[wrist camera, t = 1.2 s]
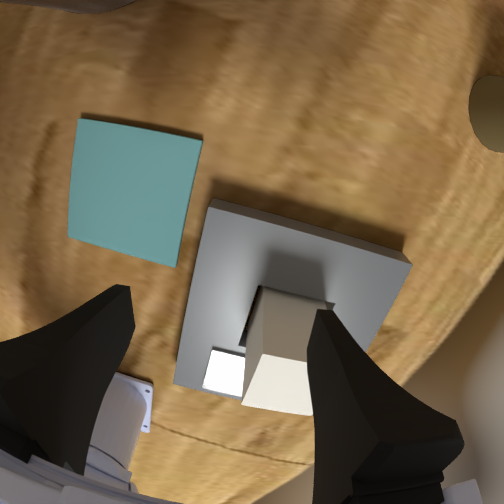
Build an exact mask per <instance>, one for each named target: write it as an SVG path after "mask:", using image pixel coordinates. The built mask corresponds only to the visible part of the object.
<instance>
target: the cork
mask: <svg viewBox="0 0 504 504" xmlns="http://www.w3.org/2000/svg"><path fill="white" fill-rule="evenodd" d="M469 115H470V122H471V124H472V127H473V130H474V133H475V134H476V136H477V137H478V139H479V140H480V142H481V143H482V144H483V145H484V146H485V147H487V148H488V149H489V150H492V151H495V152H502V153H504V77H500V76H493V75H486V76H484V77H482V78H480V79H479V80H478V81H477V82H476V83H475V85H474V86H473V88H472V91H471V94H470V97H469Z"/></svg>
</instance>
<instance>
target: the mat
mask: <svg viewBox="0 0 504 504" xmlns="http://www.w3.org/2000/svg"><path fill="white" fill-rule="evenodd" d="M202 144H203V140H199V139H194V138H190V137H185V136H181V135H176V134H171V133H167V132H162V131H157V130H151V129H146V128H141V127H135V126H130V125H124V124H118V123H112V122H106V121H99V120H93V119H86V118H78V124H77V131H76V138H75V145H74V153H73V161H72V171H71V182H70V194H69V212H68V237H70V238H73V239H77V240H80V241H83V242H87V243H90V244H93V245H97V246H100V247H104V248H107V249H110V250H114V251H117V252H121V253H124V254H128V255H131V256H135V257H138V258H142V259H145V260H149V261H152V262H156V263H160V264H163V265H167V266H170V267H174V268H176V266H177V262H178V256H179V251H180V246H181V241H182V235H183V230H184V225H185V220H186V215H187V211H188V206H189V201H190V197H191V192H192V187H193V183H194V178H195V174H196V170H197V165H198V161H199V157H200V153H201V149H202Z"/></svg>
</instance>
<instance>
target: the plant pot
mask: <svg viewBox="0 0 504 504" xmlns="http://www.w3.org/2000/svg"><path fill="white" fill-rule="evenodd" d="M134 1H136V0H0V2H2V3H14V4H24V5H32V6H39V7H46V8H53V9H59V10H64V11H68V12H72V13H103V12H108V11H111V10H115V9H117V8H120V7H123V6H125V5H127V4H130V3H132V2H134Z"/></svg>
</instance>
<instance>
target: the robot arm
mask: <svg viewBox="0 0 504 504" xmlns="http://www.w3.org/2000/svg"><path fill="white" fill-rule="evenodd" d="M134 330H135V321H134V314H133V307H132V300H131V292H130V286H125V285H118V284H116V285H114V286H112V287H110V288H108V289H107V290H105V291H104V292H102V293H100V294H99V295H97V296H96V297H94V298H93V299H91V300H90V301H88V302H86V303H85V304H83V305H82V306H80V307H79V308H77V309H75V310H73V311H72V312H70V313H68V314H67V315H65V316H63V317H61V318H60V319H58V320H56V321H54V322H52V323H50V324H48V325H46V326H44V327H42V328H39V329H37V330H35V331H32V332H30V333H27V334H24V335H22V336H19V337H16V338H13V339H10V340H6V341H3V342H0V504H182V503H177V502H172V501H167V500H163V499H158V498H154V497H150V496H146V495H142V494H139V492H138V490H137V487H136V485H135V483H133V482H131V481H130V478H131V475H132V472H130V471H128V469H129V466H130V463H131V460H132V457H133V454H134V450H135V447H136V444H137V441H138V438H139V435H140V432H141V431H143V432H146V433H148V432H149V431H150V424H151V411H152V398H153V385H152V384H151V383H149V382H146V381H142V380H139V379H136V378H133V377H130V376H127V375H124V374H121V373H118V372H116V371H117V369H118V367H119V365H120V363H121V361H122V359H123V357H124V355H125V353H126V351H127V349H128V347H129V344H130V341H131V338H132V335H133V333H134ZM307 374H308V381H309V389H310V395H311V402H312V409H313V416H314V427H315V467H314V468H315V469H314V488H313V502H312V504H483V503H482V499H481V496H480V492H479V489H478V485H477V482H476V480H475V479H471V480H468V481H465V482H462V483H458V484H454V485H451V486H449V487H447V488H444V489H443V490H442V488H441V484H440V482H442V481H443V480H444V476H443V472H442V471H443V470H444V469H445V468H446V467H447V466H448V465H449V464H450V463H451V462H452V461H453V460H454V459H455V458H457V456H458V455H459V454H460V453H461V451H462V449H463V447H464V440H463V437H462V435H461V432H460V429H459V427H458V424H457V423H456V420H453V419H452V418H450V417H448V416H446V415H444V414H442V413H440V412H438V411H436V410H434V409H432V408H431V407H429V406H427V405H426V404H424V403H423V402H421V401H419V400H418V399H417V398H415V397H414V396H412V395H411V394H410V393H408V392H407V391H406V390H404V389H403V388H402V387H400V386H399V385H398V384H397V383H396V382H394V381H393V380H392V379H391V378H390V377H389V376H388V375H387V374H386V373H384V372H383V371H382V370H381V369H380V368H379V367H378V366H377V365H376V364H375V363H374V362H373V360H372V359H371V358H370V357H369V356H368V355H367V354H366V353H365V352H364V350H363V349H362V348H361V347H360V346H359V344H358V343H357V342H356V341H355V339H354V338H353V337H352V335H351V334H350V333H349V331H348V330H347V329H346V327H345V326H344V325H343V323H342V322H341V320H340V319H339V318H338V316H337V315H336V314H335V312H334V311H333V310H326V309H317V311H316V315H315V319H314V323H313V327H312V331H311V335H310V338H309V342H308V346H307Z"/></svg>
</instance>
